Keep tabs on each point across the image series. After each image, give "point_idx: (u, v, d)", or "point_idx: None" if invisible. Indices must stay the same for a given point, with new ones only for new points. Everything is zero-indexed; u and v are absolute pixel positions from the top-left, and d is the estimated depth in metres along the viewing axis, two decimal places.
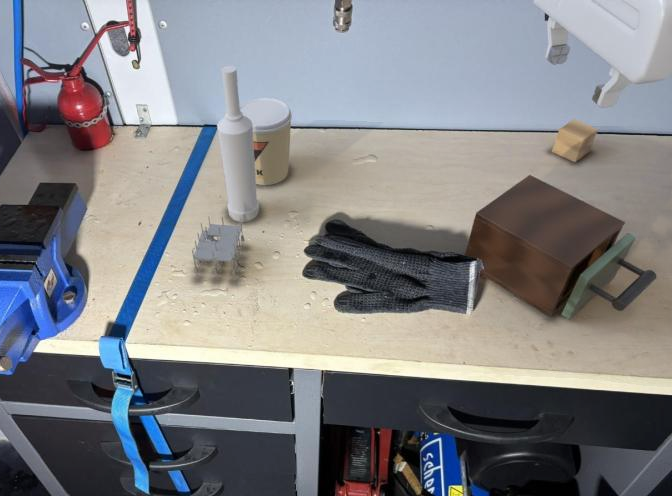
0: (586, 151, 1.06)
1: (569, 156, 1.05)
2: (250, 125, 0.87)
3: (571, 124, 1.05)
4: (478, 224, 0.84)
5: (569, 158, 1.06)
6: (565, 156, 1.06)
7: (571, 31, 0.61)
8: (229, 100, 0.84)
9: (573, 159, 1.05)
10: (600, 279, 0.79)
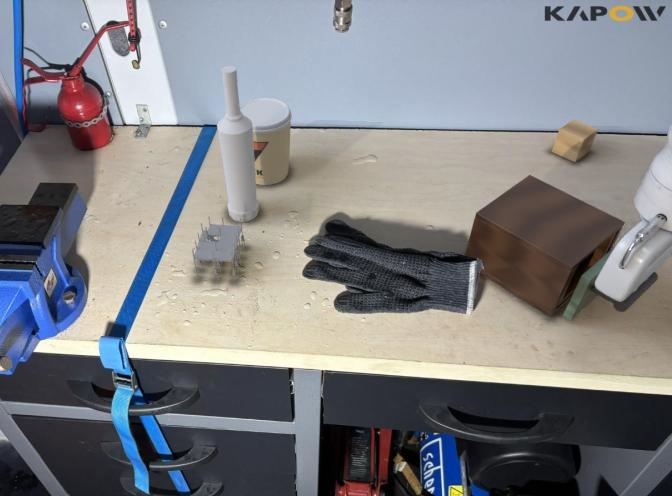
0: (586, 151, 1.06)
1: (569, 156, 1.05)
2: (250, 125, 0.87)
3: (571, 124, 1.05)
4: (478, 224, 0.84)
5: (569, 158, 1.06)
6: (565, 156, 1.06)
7: None
8: (229, 100, 0.84)
9: (573, 159, 1.05)
10: None
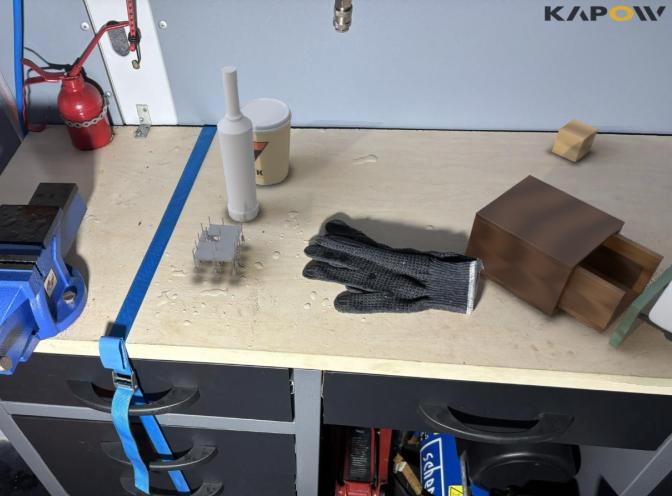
0: (586, 151, 1.06)
1: (569, 156, 1.05)
2: (250, 125, 0.87)
3: (571, 124, 1.05)
4: (478, 224, 0.84)
5: (569, 158, 1.06)
6: (565, 156, 1.06)
7: None
8: (229, 100, 0.84)
9: (573, 159, 1.05)
10: (650, 307, 0.76)
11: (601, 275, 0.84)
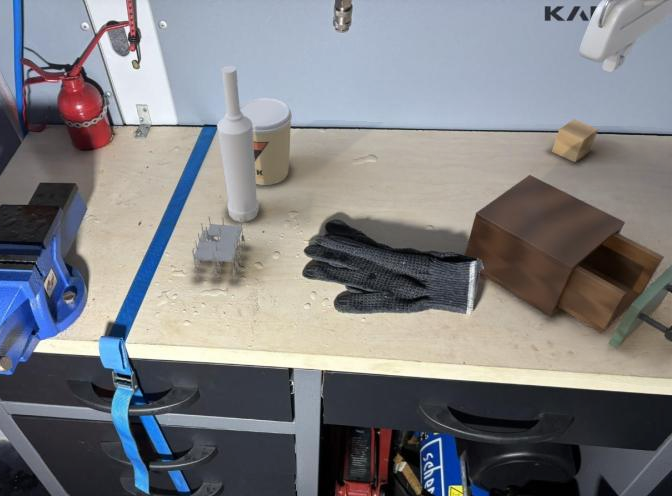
0: (586, 151, 1.06)
1: (569, 156, 1.05)
2: (250, 125, 0.87)
3: (571, 124, 1.05)
4: (478, 224, 0.84)
5: (569, 158, 1.06)
6: (565, 156, 1.06)
7: None
8: (229, 100, 0.84)
9: (573, 159, 1.05)
10: (650, 307, 0.76)
11: (601, 275, 0.84)
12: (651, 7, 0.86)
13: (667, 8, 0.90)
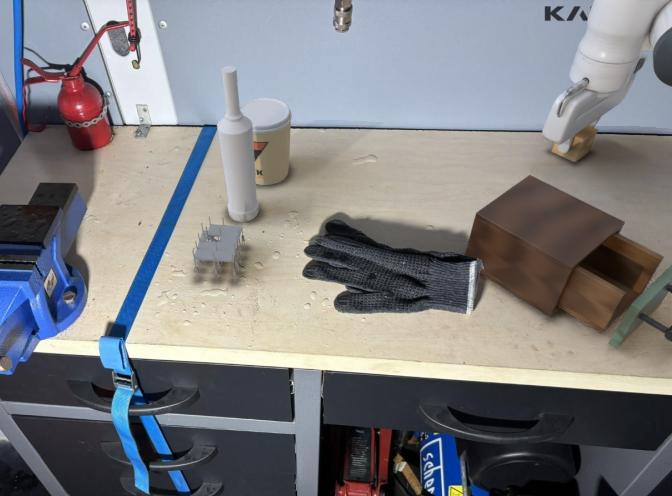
0: (586, 151, 1.06)
1: (569, 156, 1.05)
2: (250, 125, 0.87)
3: None
4: (478, 224, 0.84)
5: (569, 158, 1.06)
6: (565, 156, 1.06)
7: None
8: (229, 100, 0.84)
9: (572, 159, 1.05)
10: (650, 307, 0.76)
11: (601, 275, 0.84)
12: None
13: (621, 94, 1.03)
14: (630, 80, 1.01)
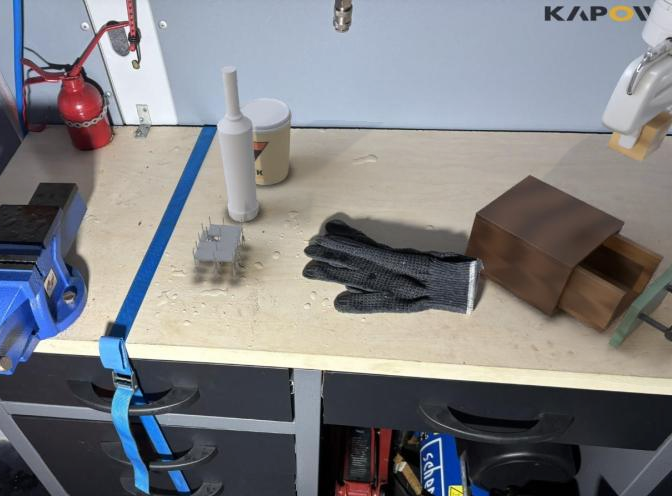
0: (656, 146, 0.76)
1: (633, 153, 0.76)
2: (250, 125, 0.87)
3: None
4: (478, 224, 0.84)
5: (633, 156, 0.76)
6: (627, 153, 0.76)
7: None
8: (229, 100, 0.84)
9: (638, 157, 0.75)
10: (650, 307, 0.76)
11: (601, 275, 0.84)
12: None
13: None
14: None
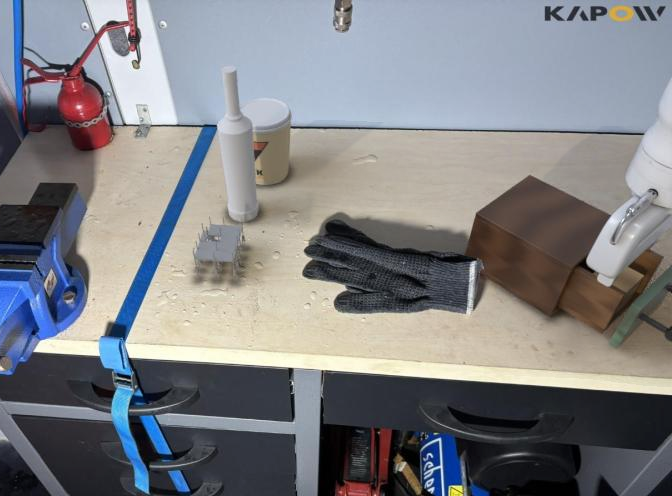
0: (627, 300, 0.80)
1: None
2: (250, 125, 0.87)
3: None
4: (478, 224, 0.84)
5: None
6: None
7: None
8: (229, 100, 0.84)
9: None
10: (650, 307, 0.76)
11: None
12: None
13: None
14: None
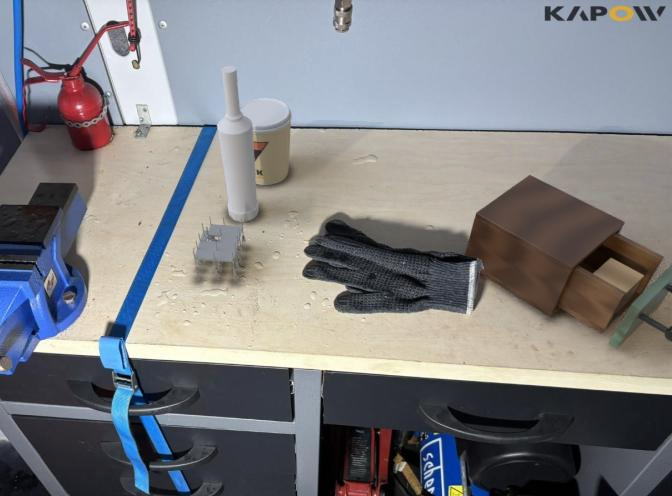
0: (627, 300, 0.80)
1: None
2: (250, 125, 0.87)
3: (608, 266, 0.79)
4: (478, 224, 0.84)
5: None
6: None
7: None
8: (229, 100, 0.84)
9: None
10: (650, 307, 0.76)
11: None
12: None
13: None
14: None
